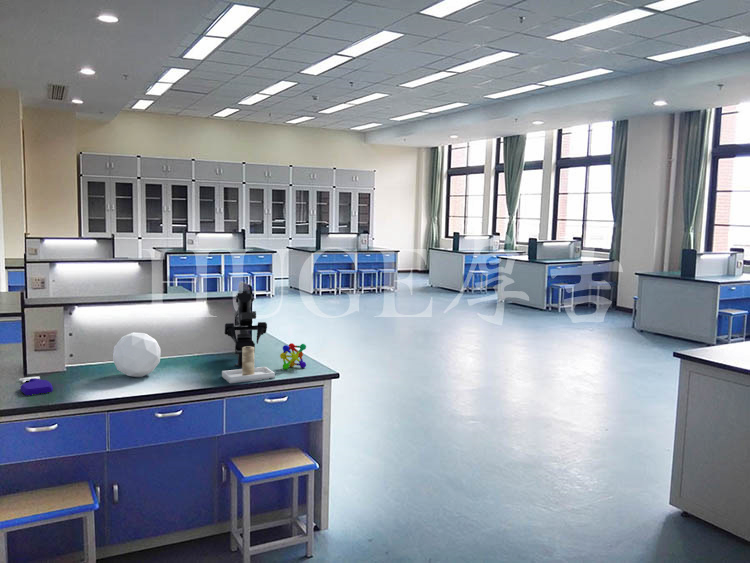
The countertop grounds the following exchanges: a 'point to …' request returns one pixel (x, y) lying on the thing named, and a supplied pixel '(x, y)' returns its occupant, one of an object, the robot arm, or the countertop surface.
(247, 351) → the maple post
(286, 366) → the molecular model
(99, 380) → the countertop surface
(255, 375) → the grey tray
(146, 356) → the geometric polyhedron
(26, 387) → the spray bottle
